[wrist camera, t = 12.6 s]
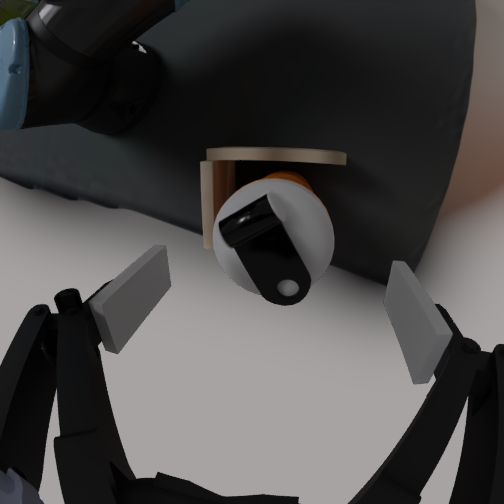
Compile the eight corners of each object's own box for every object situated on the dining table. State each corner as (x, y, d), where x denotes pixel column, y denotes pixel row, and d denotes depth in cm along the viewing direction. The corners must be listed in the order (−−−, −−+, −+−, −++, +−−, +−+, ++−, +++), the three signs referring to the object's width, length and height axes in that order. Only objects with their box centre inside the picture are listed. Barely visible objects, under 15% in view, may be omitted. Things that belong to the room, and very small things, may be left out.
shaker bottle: (279, 242, 38) (258, 336, 20) (237, 191, 37) (173, 245, 18) (333, 203, 35) (365, 272, 17) (290, 148, 33) (279, 155, 15)
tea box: (56, -18, 23) (11, -32, 10) (55, 8, 27) (4, -4, 13) (16, 21, 27) (-28, 16, 13) (14, 49, 30) (-33, 47, 17)
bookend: (227, 221, 38) (204, 248, 29) (226, 146, 34) (200, 149, 25) (330, 227, 36) (340, 257, 27) (336, 150, 32) (349, 154, 23)
